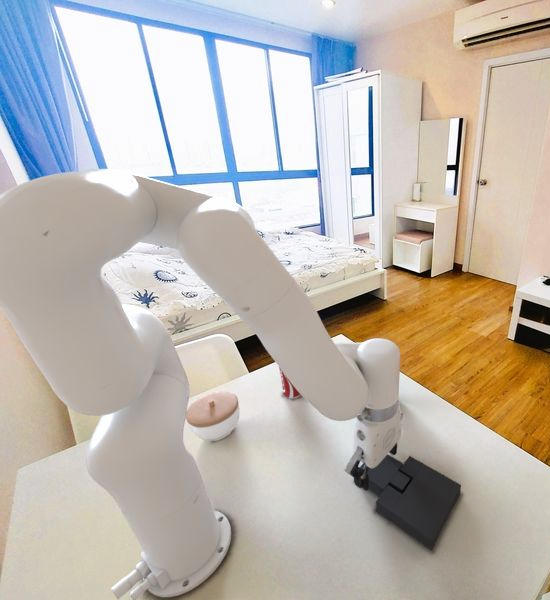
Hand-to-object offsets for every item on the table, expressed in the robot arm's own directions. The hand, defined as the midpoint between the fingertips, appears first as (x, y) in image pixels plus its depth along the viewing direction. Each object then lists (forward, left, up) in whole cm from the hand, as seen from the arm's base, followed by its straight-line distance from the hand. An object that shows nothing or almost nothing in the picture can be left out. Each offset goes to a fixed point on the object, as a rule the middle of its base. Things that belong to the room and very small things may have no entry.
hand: (376, 467), depth 66 cm
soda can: (+8, +35, -3) cm, 36 cm away
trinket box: (-11, +39, -3) cm, 41 cm away
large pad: (+1, -10, -3) cm, 11 cm away
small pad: (+1, -2, -3) cm, 4 cm away
